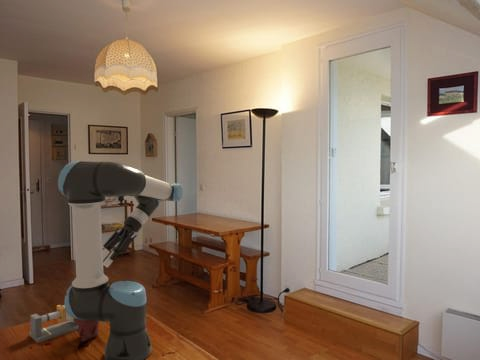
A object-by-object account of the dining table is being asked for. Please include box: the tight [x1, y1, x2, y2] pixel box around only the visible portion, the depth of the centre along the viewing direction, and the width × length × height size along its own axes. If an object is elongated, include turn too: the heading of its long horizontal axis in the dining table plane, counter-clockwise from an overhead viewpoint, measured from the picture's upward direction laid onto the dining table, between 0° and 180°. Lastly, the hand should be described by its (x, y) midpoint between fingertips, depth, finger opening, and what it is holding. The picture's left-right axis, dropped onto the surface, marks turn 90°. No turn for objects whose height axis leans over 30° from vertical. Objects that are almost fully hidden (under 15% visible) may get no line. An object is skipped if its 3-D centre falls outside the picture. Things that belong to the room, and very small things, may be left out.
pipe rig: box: [29, 310, 79, 343], centre depth 137 cm, size 17×8×8 cm, turn 137°
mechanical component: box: [74, 318, 100, 342], centre depth 132 cm, size 12×10×10 cm
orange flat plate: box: [56, 304, 67, 323], centre depth 138 cm, size 1×5×5 cm, turn 48°
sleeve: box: [61, 304, 74, 323], centre depth 140 cm, size 4×6×12 cm, turn 47°
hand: (101, 264), depth 149 cm, fingers open, 6 cm apart
